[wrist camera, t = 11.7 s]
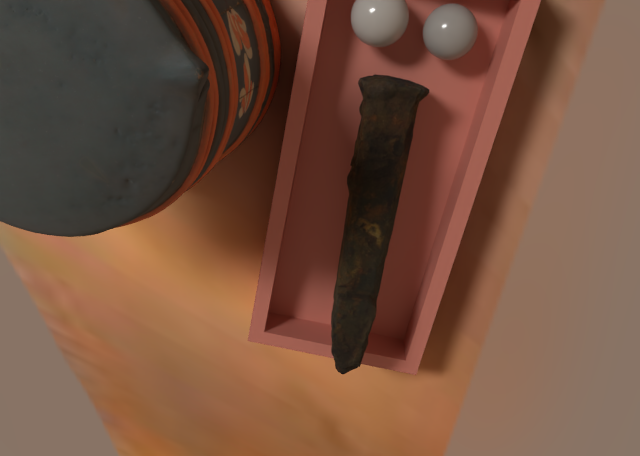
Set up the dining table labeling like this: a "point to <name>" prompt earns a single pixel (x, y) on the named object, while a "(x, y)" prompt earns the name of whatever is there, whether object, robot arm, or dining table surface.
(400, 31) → the light grey ball
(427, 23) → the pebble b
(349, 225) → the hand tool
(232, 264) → the dining table surface
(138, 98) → the beer stein
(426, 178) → the pink tray
